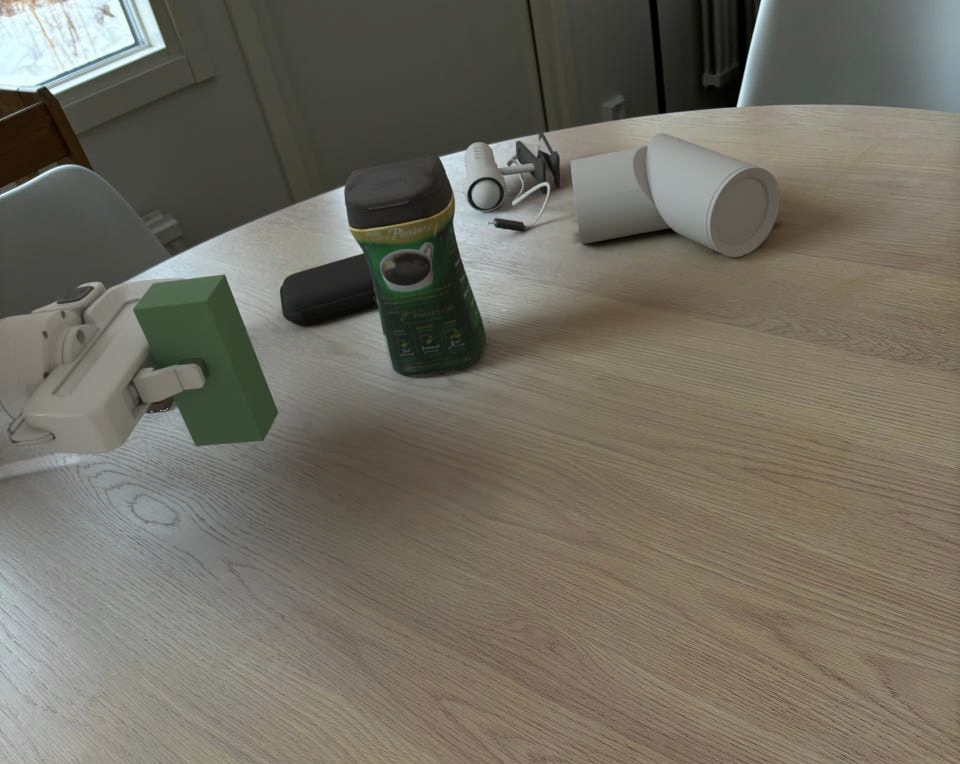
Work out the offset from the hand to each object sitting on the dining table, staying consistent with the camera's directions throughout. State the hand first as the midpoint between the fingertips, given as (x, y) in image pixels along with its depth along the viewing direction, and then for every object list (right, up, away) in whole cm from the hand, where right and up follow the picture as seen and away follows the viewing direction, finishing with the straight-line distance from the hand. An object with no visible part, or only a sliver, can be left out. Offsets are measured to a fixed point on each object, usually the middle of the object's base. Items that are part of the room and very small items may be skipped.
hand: (216, 352), depth 80 cm
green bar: (0, -5, +5) cm, 7 cm away
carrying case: (+6, +16, +37) cm, 41 cm away
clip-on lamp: (+25, +30, +46) cm, 61 cm away
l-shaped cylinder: (+41, +21, +32) cm, 56 cm away
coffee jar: (+16, +6, +24) cm, 29 cm away
